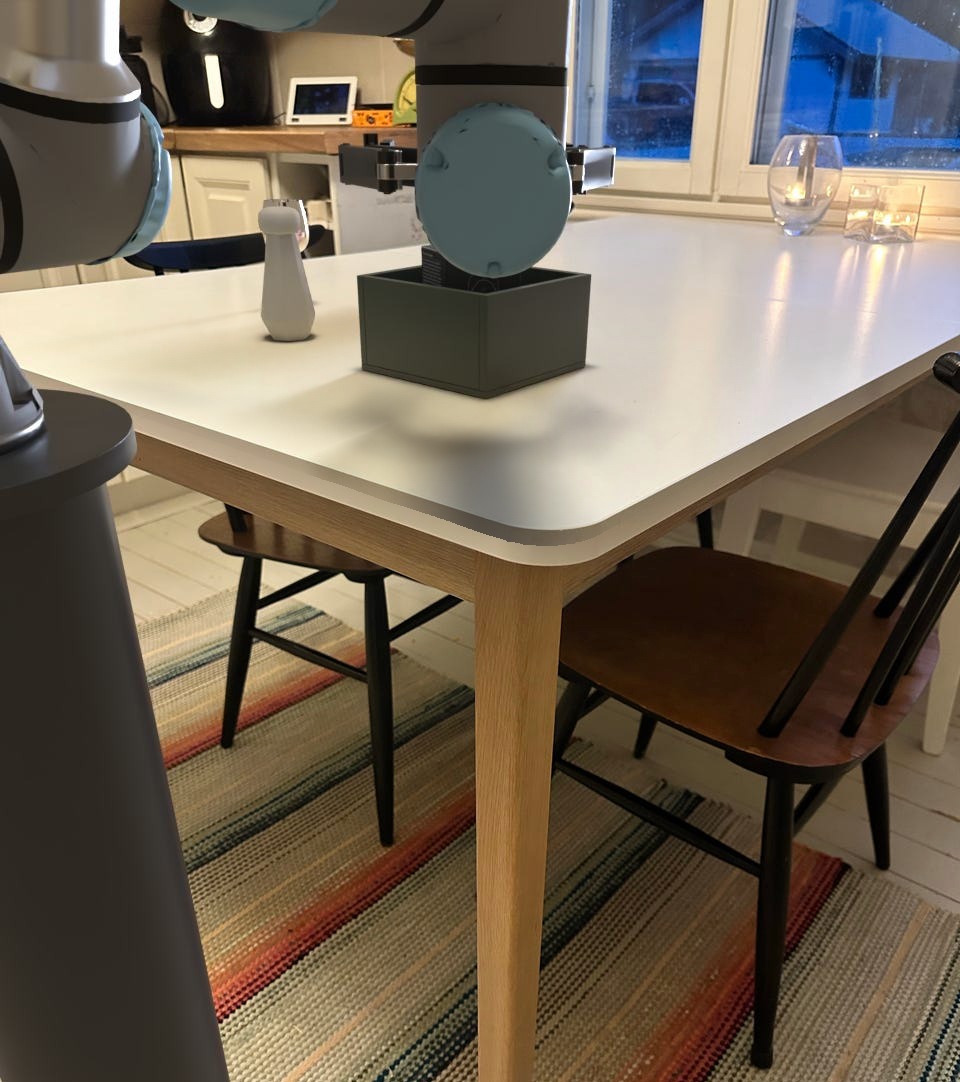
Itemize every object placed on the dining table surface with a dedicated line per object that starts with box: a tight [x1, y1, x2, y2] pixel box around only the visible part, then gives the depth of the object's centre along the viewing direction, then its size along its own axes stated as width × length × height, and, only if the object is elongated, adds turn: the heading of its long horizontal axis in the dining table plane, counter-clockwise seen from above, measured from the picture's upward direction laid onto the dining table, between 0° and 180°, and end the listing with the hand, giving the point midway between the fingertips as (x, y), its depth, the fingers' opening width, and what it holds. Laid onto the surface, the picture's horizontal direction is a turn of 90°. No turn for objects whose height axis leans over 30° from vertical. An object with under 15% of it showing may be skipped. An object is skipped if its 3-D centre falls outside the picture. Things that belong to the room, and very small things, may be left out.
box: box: [420, 244, 520, 294], centre depth 87 cm, size 8×6×11 cm
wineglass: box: [261, 198, 310, 253], centre depth 115 cm, size 6×6×12 cm
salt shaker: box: [257, 206, 316, 342], centre depth 98 cm, size 6×6×13 cm
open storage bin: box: [356, 264, 592, 400], centre depth 88 cm, size 16×16×9 cm
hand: (474, 159), depth 74 cm, fingers open, 13 cm apart
